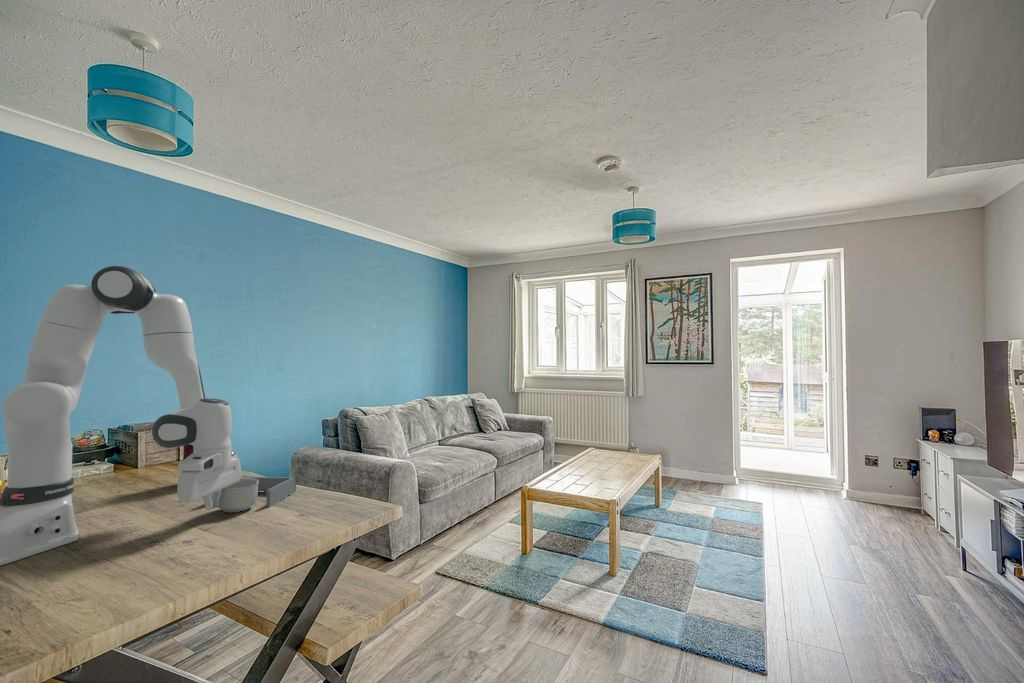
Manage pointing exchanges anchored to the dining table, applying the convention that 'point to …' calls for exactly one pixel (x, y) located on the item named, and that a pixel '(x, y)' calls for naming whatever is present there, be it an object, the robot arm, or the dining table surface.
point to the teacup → (239, 496)
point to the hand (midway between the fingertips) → (211, 508)
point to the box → (276, 487)
